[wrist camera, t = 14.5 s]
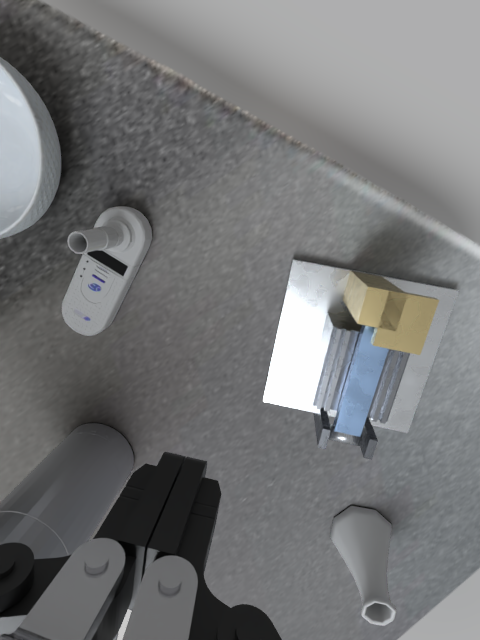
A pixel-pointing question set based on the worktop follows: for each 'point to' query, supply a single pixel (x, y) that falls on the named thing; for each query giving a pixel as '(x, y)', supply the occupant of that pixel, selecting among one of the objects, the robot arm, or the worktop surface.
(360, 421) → the blue bar
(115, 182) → the worktop surface
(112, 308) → the electronic device
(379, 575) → the flask
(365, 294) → the block
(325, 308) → the clip base
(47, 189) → the cereal bowl
